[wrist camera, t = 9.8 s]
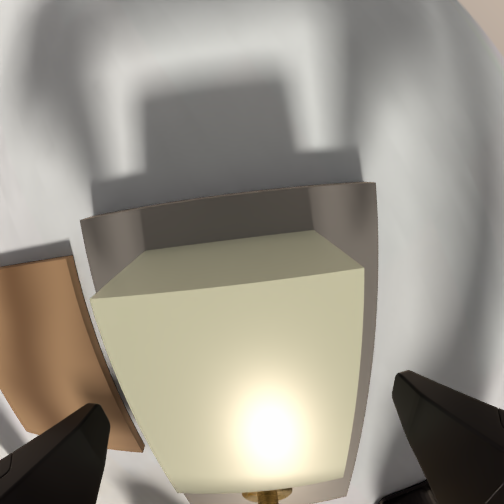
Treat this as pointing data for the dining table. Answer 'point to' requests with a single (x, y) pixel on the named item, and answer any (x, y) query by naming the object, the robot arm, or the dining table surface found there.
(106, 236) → the base
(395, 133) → the dining table surface
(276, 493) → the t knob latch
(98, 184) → the dining table surface
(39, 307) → the walnut mat
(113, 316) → the cover
